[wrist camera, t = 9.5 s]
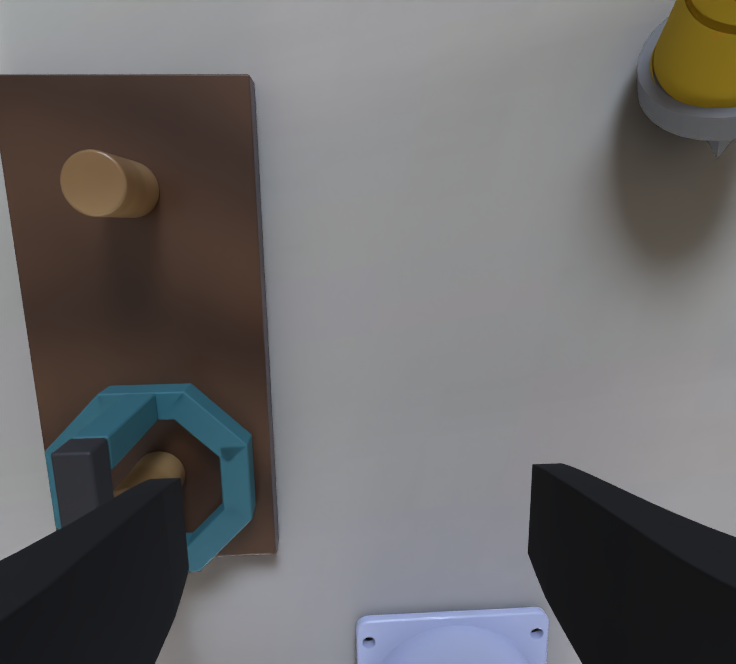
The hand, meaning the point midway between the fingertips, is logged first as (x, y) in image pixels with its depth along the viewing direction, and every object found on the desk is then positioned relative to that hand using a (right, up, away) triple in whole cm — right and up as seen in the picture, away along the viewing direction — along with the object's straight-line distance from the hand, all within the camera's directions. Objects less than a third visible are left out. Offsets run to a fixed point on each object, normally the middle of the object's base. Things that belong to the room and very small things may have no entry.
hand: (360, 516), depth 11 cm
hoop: (-7, -1, +8) cm, 11 cm away
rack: (-8, +4, +8) cm, 12 cm away
